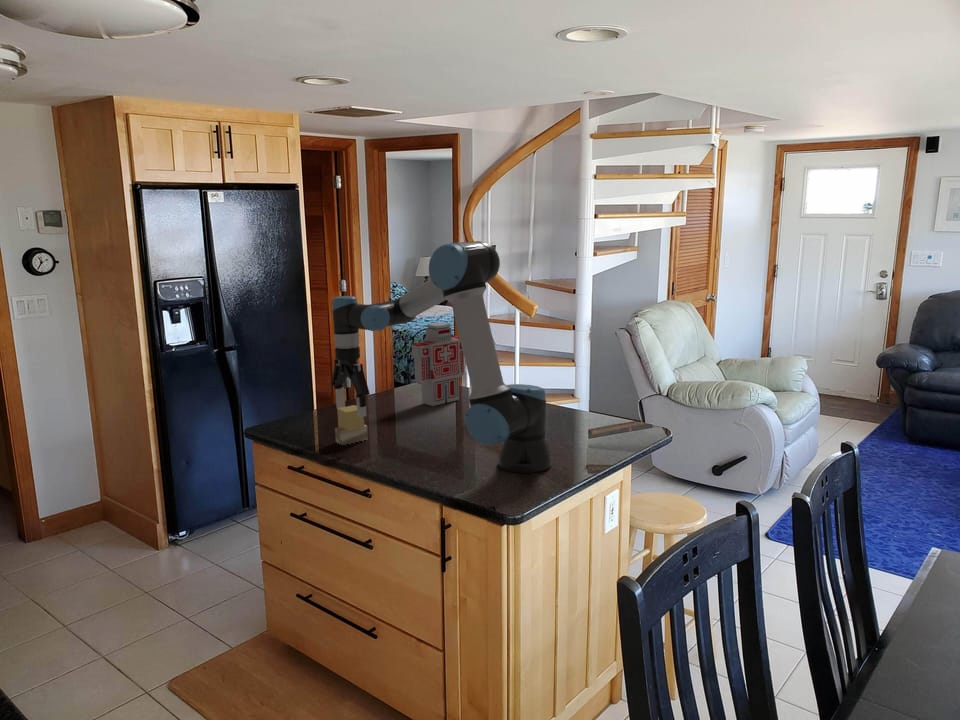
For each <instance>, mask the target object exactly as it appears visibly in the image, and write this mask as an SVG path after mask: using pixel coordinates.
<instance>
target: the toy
mask: <svg viewBox="0 0 960 720" xmlns="http://www.w3.org/2000/svg"><path fill="white" fill-rule="evenodd" d="M452 333H453V332H452V325H451V323H445V322H435V323H430V324H426V325H425V335H426V337H425V338H426V340H424V341H420V342H417V343H412V344H411V356H412V357H413V361H414V362H413V364H414V366H413V368H414V383H416V384H418V385H420V386H421V403H423V404H424V405H427V406H430V407H435V406H439V405H443V404H447V403H452V402H457V401H458V400H460V382H459V381H460V379H459V378H460V377H461V378H462V377H464V375H465V358H464V354H463V349H462V345H461V341H460V337H459V335H458V336H452V335H453V334H452Z"/></svg>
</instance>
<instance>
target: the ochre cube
mask: <svg viewBox="0 0 960 720" xmlns="http://www.w3.org/2000/svg"><path fill="white" fill-rule="evenodd" d="M336 409H337V423H338V424H337V425H338V427H340V428H342V429H344V430H346V431H349V430H354V429H358V428H363V427H364V424H365V417H360V418H358V416H357V405H355V404H353V405H348V406H345V407H342V408H337V407H336ZM338 427H337V428H338Z"/></svg>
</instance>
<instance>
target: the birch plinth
mask: <svg viewBox="0 0 960 720" xmlns="http://www.w3.org/2000/svg"><path fill="white" fill-rule="evenodd" d="M334 432H335V433H334V434H335V435H334V436H335V443H336V442H337V443H336V444H338V443H339V444H338V445H340V444H341V445H345V446H347V445H346V444H349V445H352V444H351V443H353V444H356V443H355V442H358V443H360V442H359V441H362V442H365V441H364V440H366V441H368V440H369V439H368V438H369V437H368V436H369V433H368V425H367V424H365V423H364V427H363V428H358V429H354V430H349V431H346V430H344V429H342V428H340V427H335V428H334ZM341 445H340V446H341Z"/></svg>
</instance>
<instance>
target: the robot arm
mask: <svg viewBox="0 0 960 720" xmlns="http://www.w3.org/2000/svg"><path fill="white" fill-rule="evenodd" d="M500 265H501V261H500V256H499V253H498V252H497V250H496V249H495V248H494V246H492V245H491V244H489V243H487V242H486V241H485V242H484V241H480V240H479V241H467V242H466V241H463V242H462V241H461V242H450V243H446V244H442V245H440V246H439V247H437V248H436V249H435V250H434V251H433V253H432V255H431V257H430V259H429V264H428V275H429V278H430V279H429V280H427V281H424V282H423V283H422V284H420V285H418V286H417V287H415V288H413V289H411V290H409V291H407V292H406V293H404V294H403V295H401V296H400V297H397V298H395V299H394V300H391V301H384V302H378V303H377V302H376V303H371V304H364V303H363V304H362V303H358V299H357V297H356V296H354V295H342V296H335V297H333V299H332V303H331V304H332V306H331V307H332V308H331V312H332V321H333V322H332V323H333V337H334V340H333V341H334V346H335V348H334V353H335V358H334V360H333V362H334V366H333V373H332V377H331V382H330V383H331V386H333V389H334V390H335V402H336V405H335V406H336V409H337V408H342V407H346V397H345V385H344V384H345V381H346V379H347V377H348V379H349V380H350V381H351V383H352V385H353V387H354V390H355V393H356V406H357V416H358V418H360V417H364V418H365V417H367V403H366V398H367V396H370V390H369V386H368V383H367V379H366V375H365V372H364V366H363V364H362V363H357V362H358V361H357V360H359V359H360V357H361V349H360V346H359V345H360V338H359V337H360V334H359V332H360V331H359V330H363V331H370V332H375V331H377V332H380V331H383V330H385V329H386V327H387V328H388V327H391V326H398V325H405V324H407V323H411V322H413V321H414V320H416V317H417V316H418V315H420V314H422V313H425V312H426V311H427V310H429V309H431V308H433V307H435V306H437V305H439V304H441V303H442V302H445V301H448V302H449V303H450V304H451V307H452V312H453V315H454V321H455V323H456V324H455V325H456V328H457V332H458V333H457V334H458V337H460V341H461V345H462V349H463V354H464V363H465V365H466V369H467V374H468V377H469V382H470V385H471V393H469V394H470V395H469V396H468V402H469V406H470V407H469V408H468V409H467V411H466V414H465V416H464V420H465V423H464V424H465V427H466V429H467V431H468V434H469V435H470V436H471V437H472V438H473V439H474V440H475V441H477V442H478V443H479V444H481V445H484V446H494V445H497V444H502V446H501V450H500V452H499V455H498V466H499V468H501V469H503V470H505V471H508V472H512V473H520V474H533V473H534V474H535V473H539V472H544V471H545V470H548V469H550V468H551V466H552V463H553V462H552V458H553V457H552V454H551V453H550V448H549V445H548V442H547V440H546V439H547V438H546V419H547V418H546V414H547V413H546V409H547V408H546V406H547V405H546V403H547V399H546V391H545V389H544V388H543V387H541V386H537V385H533V384H532V385H531V384H522V383H521V384H519V383H516V384H515V383H510V384H505V382H504V379H503V376H502V375H503V374H502V371H501V366H500V363H499V358H498V354H497V350H496V346H495V345H496V344H495V342H494V338H493V333H492V328H491V325H490V320H489V316H488V314H487V313H488V312H487V309H486V305H485V300H484V293H485V292H486V290H487V284H486V283H489V282H491V281H492V280H494V278H495V277H496V276H497V275H498V273H499V271H500V268H501V266H500Z"/></svg>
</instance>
